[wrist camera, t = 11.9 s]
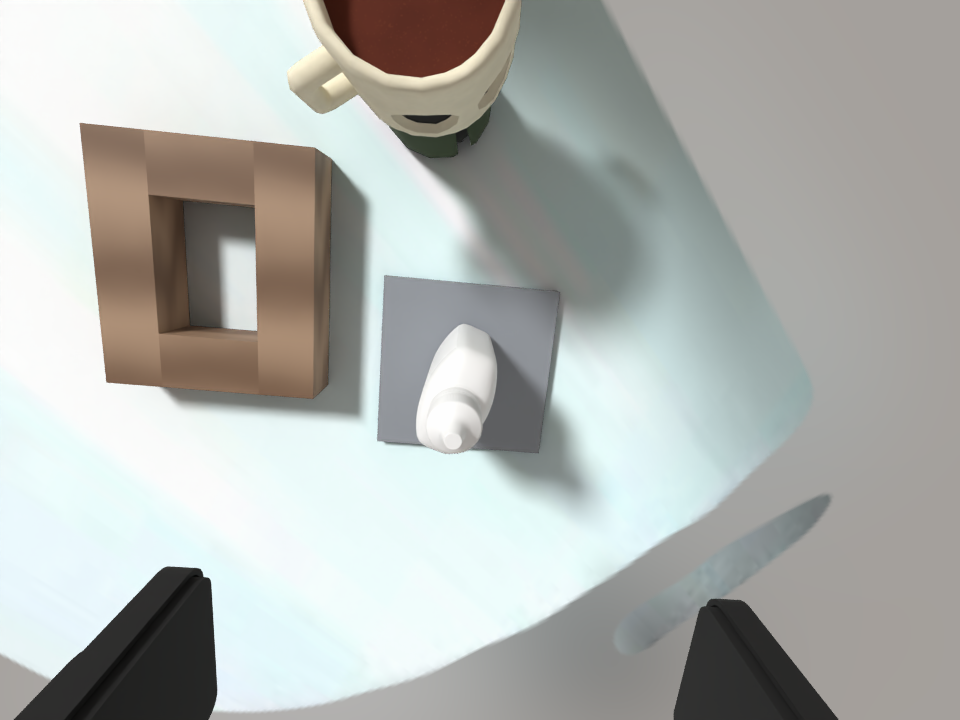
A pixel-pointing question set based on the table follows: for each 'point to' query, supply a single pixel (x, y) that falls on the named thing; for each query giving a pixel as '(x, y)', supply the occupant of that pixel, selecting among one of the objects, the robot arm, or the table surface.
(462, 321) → the slate mat
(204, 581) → the robot arm
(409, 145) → the character mug
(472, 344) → the eye dropper bottle
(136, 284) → the walnut dock
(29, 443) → the table surface
